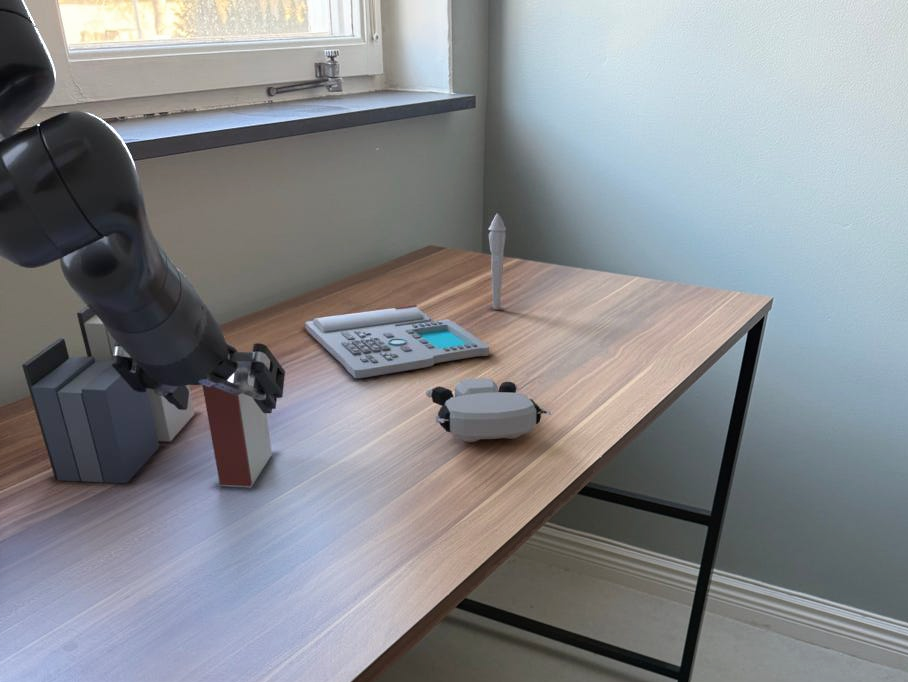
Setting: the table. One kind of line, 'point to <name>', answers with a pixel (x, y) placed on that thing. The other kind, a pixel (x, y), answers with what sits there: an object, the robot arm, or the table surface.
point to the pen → (497, 257)
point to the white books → (163, 412)
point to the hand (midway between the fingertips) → (226, 402)
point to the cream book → (237, 435)
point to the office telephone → (393, 340)
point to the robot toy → (485, 410)
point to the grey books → (89, 417)
